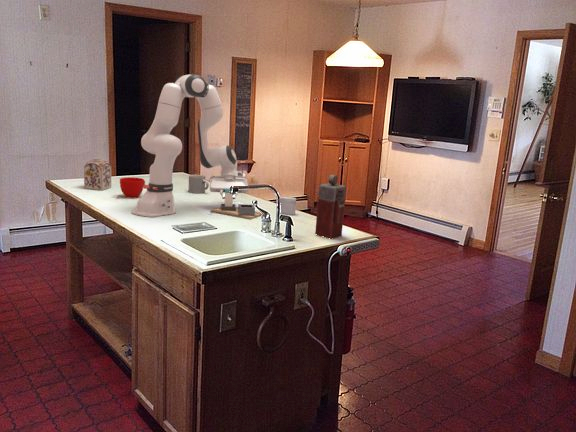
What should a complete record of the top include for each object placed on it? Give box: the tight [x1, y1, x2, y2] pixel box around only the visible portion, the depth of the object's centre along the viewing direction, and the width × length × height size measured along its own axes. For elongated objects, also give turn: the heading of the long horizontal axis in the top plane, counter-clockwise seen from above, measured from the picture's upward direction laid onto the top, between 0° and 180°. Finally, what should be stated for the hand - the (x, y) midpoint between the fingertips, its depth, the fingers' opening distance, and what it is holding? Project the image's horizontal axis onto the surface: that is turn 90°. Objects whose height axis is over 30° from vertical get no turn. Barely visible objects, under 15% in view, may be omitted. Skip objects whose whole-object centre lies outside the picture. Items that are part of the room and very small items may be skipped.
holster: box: [220, 203, 237, 211], centre depth 276 cm, size 8×8×2 cm
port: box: [237, 203, 256, 216], centre depth 268 cm, size 8×8×4 cm
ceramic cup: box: [119, 176, 146, 199], centre depth 295 cm, size 13×17×10 cm
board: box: [209, 206, 262, 220], centre depth 272 cm, size 14×24×1 cm, turn 63°
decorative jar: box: [83, 157, 112, 191], centre depth 310 cm, size 12×12×18 cm
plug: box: [224, 188, 234, 207], centre depth 275 cm, size 4×4×11 cm
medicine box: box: [279, 196, 297, 216], centre depth 278 cm, size 8×4×9 cm, turn 74°
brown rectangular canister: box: [314, 174, 347, 240], centre depth 237 cm, size 9×11×28 cm
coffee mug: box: [188, 174, 210, 195], centre depth 319 cm, size 13×10×10 cm
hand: (228, 198), depth 274 cm, fingers closed on plug, 4 cm apart
